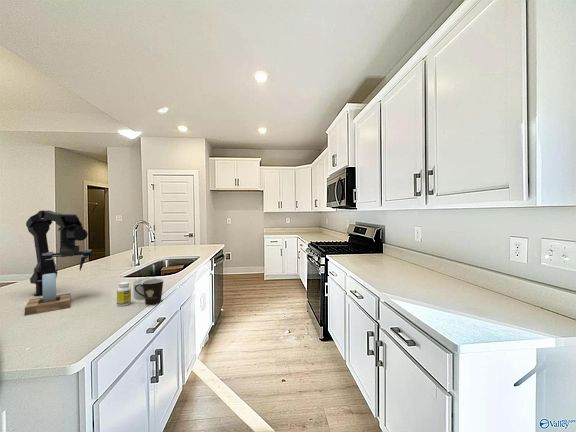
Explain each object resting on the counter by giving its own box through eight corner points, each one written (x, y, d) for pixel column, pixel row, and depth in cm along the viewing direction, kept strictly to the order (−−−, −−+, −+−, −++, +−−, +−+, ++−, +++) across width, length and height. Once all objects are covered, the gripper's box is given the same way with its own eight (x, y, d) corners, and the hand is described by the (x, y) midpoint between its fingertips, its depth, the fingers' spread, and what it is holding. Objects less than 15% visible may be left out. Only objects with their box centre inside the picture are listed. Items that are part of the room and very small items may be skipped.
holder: (29, 306, 115) (29, 299, 115) (70, 299, 124) (70, 293, 124) (24, 315, 104) (24, 308, 104) (69, 307, 113) (69, 300, 113)
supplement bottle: (124, 306, 114) (124, 284, 114) (113, 305, 115) (113, 284, 115) (133, 302, 119) (133, 281, 119) (123, 301, 121) (123, 281, 120)
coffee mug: (167, 300, 122) (167, 279, 122) (152, 306, 114) (152, 284, 114) (148, 298, 126) (148, 277, 126) (133, 303, 118) (133, 282, 118)
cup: (136, 300, 122) (136, 282, 122) (131, 294, 132) (131, 277, 132) (159, 296, 129) (159, 279, 129) (153, 290, 139) (153, 274, 139)
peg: (43, 305, 114) (42, 274, 114) (56, 303, 117) (56, 272, 117) (42, 308, 111) (41, 276, 111) (55, 306, 114) (55, 274, 114)
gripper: (39, 242, 113) (39, 277, 113) (92, 239, 125) (92, 271, 125) (42, 240, 122) (42, 273, 122) (91, 238, 134) (91, 268, 134)
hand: (67, 271), depth 125 cm, fingers open, 9 cm apart
